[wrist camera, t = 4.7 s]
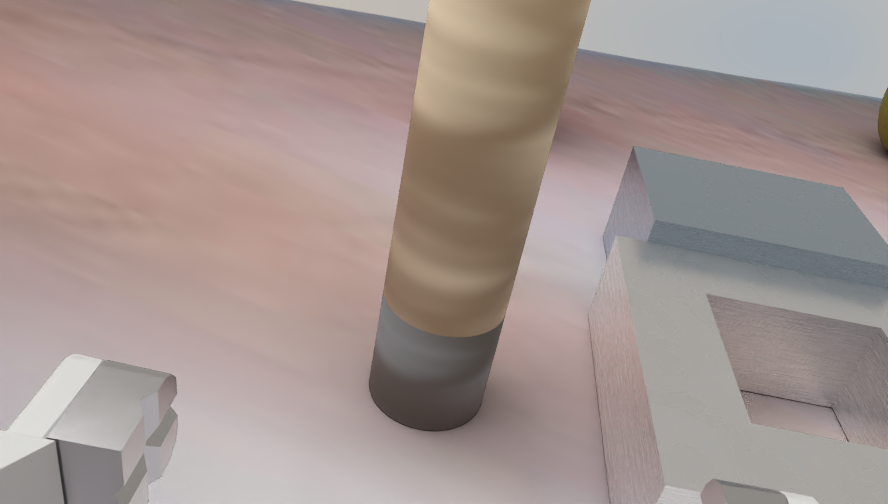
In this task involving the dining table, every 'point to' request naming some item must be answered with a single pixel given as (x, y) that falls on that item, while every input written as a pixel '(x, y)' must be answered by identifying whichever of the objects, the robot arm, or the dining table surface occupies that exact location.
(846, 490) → the block
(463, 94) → the key rod
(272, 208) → the dining table surface
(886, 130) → the apple
